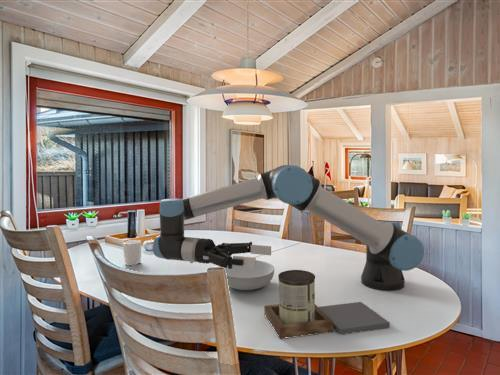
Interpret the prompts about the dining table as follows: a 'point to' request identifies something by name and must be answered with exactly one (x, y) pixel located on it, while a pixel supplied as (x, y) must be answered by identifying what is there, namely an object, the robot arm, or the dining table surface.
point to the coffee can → (296, 296)
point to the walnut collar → (298, 328)
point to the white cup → (132, 251)
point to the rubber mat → (354, 318)
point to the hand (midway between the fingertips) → (263, 256)
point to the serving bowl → (250, 276)
